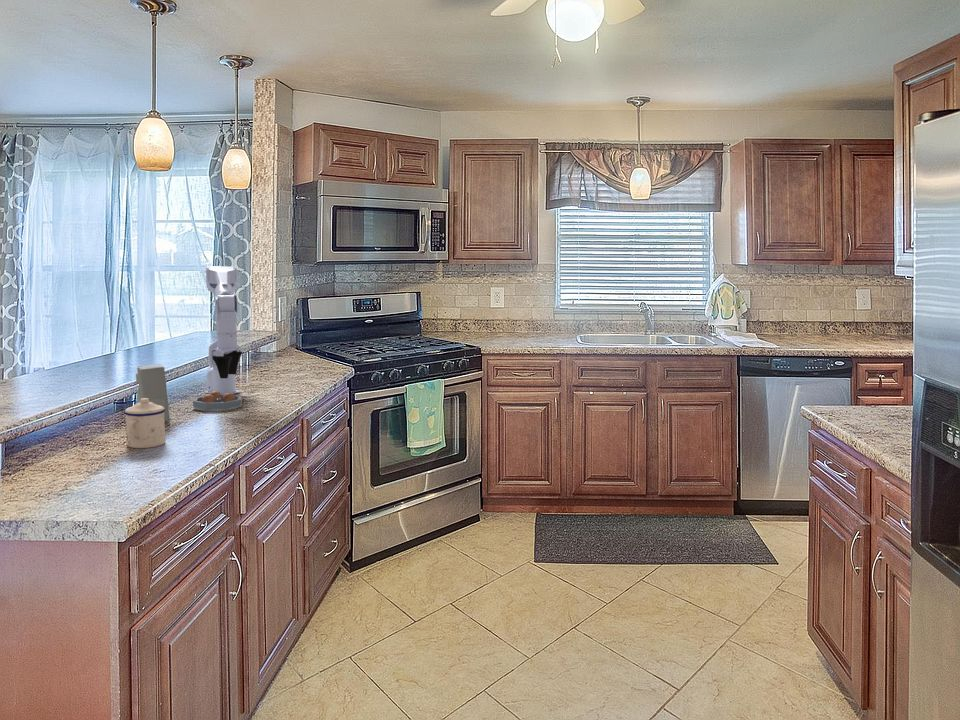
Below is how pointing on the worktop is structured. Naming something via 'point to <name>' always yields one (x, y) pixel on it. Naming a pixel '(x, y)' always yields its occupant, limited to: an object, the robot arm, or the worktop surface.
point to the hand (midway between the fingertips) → (228, 376)
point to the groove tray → (217, 404)
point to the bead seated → (208, 398)
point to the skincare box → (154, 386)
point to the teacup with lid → (145, 425)
